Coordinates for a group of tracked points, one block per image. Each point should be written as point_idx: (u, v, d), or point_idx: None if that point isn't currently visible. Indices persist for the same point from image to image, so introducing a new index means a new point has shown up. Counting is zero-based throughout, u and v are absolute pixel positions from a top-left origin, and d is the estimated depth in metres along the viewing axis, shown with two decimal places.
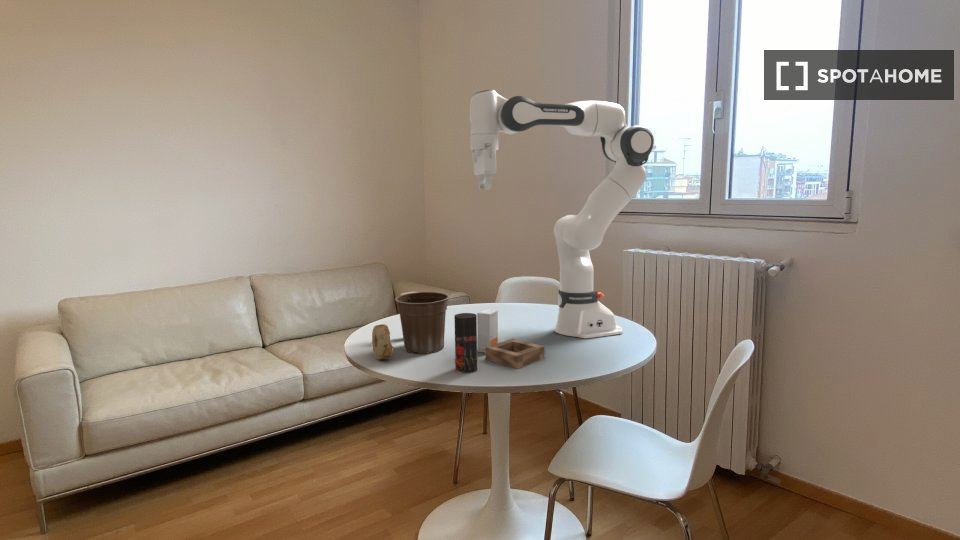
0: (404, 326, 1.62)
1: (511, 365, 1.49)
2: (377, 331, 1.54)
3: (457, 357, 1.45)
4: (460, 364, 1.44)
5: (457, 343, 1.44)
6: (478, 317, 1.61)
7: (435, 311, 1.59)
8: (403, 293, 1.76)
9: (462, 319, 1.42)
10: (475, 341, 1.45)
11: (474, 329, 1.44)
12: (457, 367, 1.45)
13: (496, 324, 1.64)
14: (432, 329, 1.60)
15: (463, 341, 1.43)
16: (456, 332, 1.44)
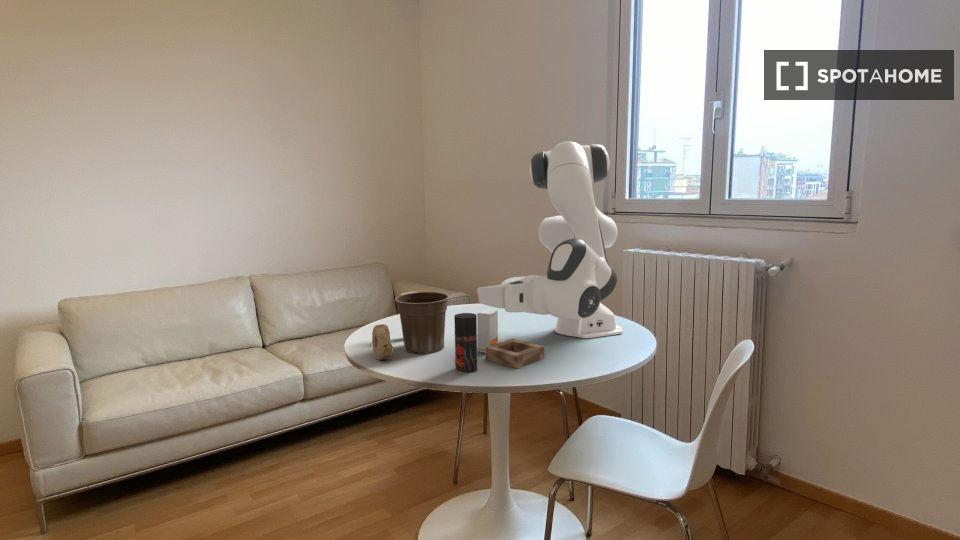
0: (404, 326, 1.62)
1: (511, 365, 1.49)
2: (377, 331, 1.54)
3: (457, 357, 1.45)
4: (460, 364, 1.44)
5: (457, 343, 1.44)
6: (478, 317, 1.61)
7: (435, 311, 1.59)
8: (403, 293, 1.76)
9: (462, 319, 1.42)
10: (475, 341, 1.45)
11: (474, 329, 1.44)
12: (457, 367, 1.45)
13: (496, 324, 1.64)
14: (432, 329, 1.60)
15: (463, 341, 1.43)
16: (456, 332, 1.44)
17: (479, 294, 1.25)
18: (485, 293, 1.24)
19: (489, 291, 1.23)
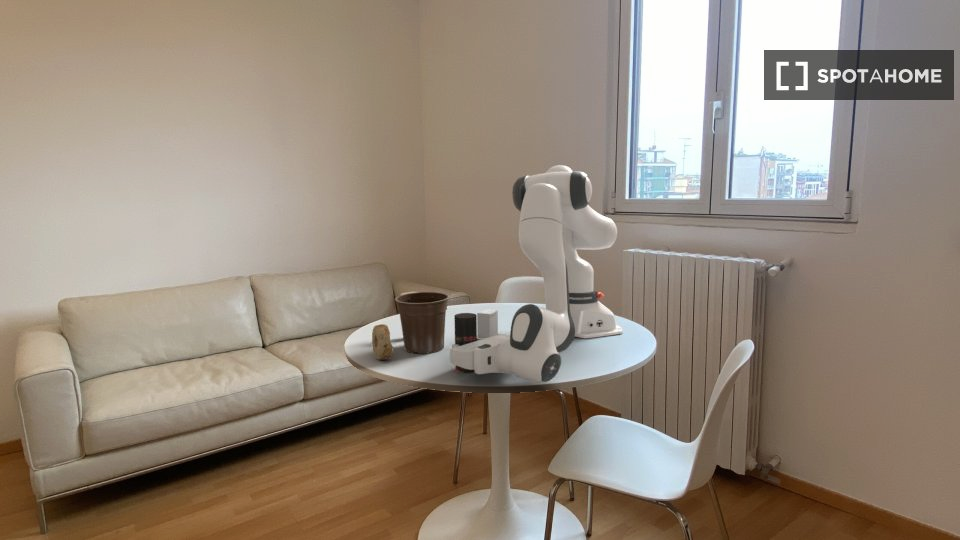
0: (404, 326, 1.62)
1: None
2: (377, 331, 1.54)
3: None
4: None
5: None
6: (478, 317, 1.61)
7: (435, 311, 1.59)
8: (403, 293, 1.76)
9: (462, 319, 1.42)
10: None
11: (474, 329, 1.44)
12: (457, 367, 1.45)
13: (496, 324, 1.64)
14: (432, 329, 1.60)
15: (463, 341, 1.43)
16: (456, 332, 1.44)
17: (450, 355, 1.36)
18: (456, 355, 1.34)
19: (460, 354, 1.33)
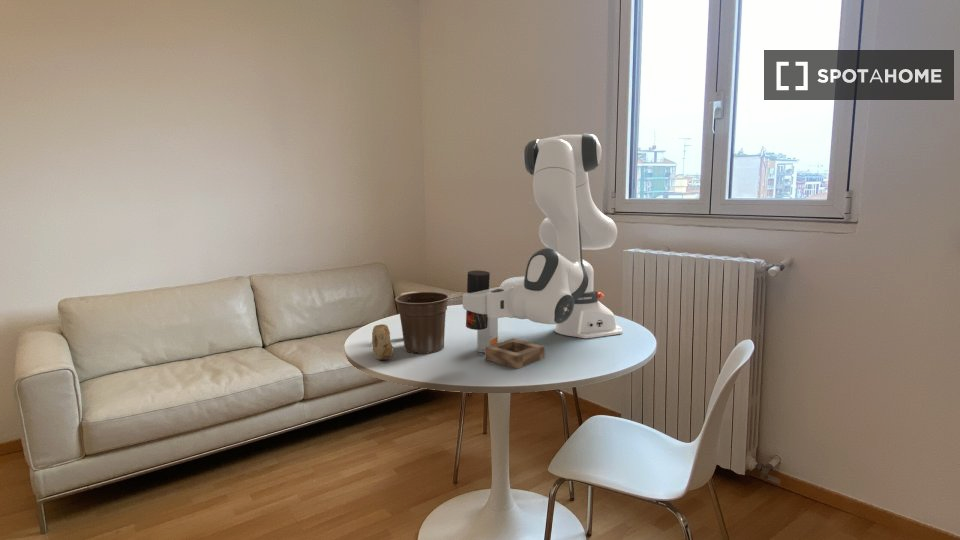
0: (404, 326, 1.62)
1: (511, 365, 1.49)
2: (377, 331, 1.54)
3: (468, 314, 1.46)
4: (471, 321, 1.45)
5: None
6: None
7: (435, 311, 1.59)
8: (403, 293, 1.76)
9: (476, 276, 1.42)
10: None
11: (487, 286, 1.44)
12: (468, 324, 1.46)
13: (496, 324, 1.64)
14: (432, 329, 1.60)
15: None
16: (469, 289, 1.44)
17: (463, 301, 1.36)
18: (469, 300, 1.35)
19: (473, 299, 1.34)
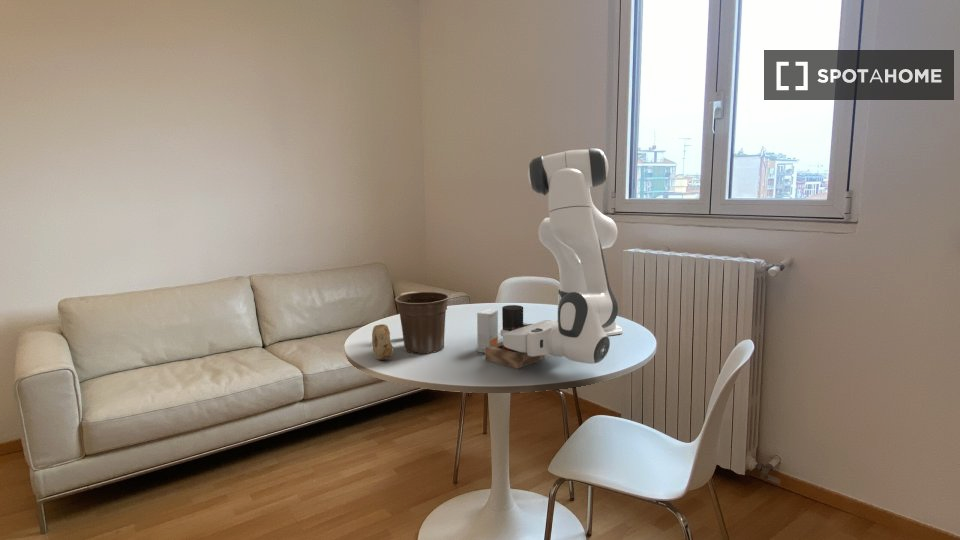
0: (404, 326, 1.62)
1: (511, 365, 1.49)
2: (377, 331, 1.54)
3: (505, 347, 1.53)
4: None
5: None
6: (478, 317, 1.61)
7: (435, 311, 1.59)
8: (403, 293, 1.76)
9: (510, 311, 1.51)
10: None
11: (522, 320, 1.53)
12: None
13: (496, 324, 1.64)
14: (432, 329, 1.60)
15: None
16: (504, 323, 1.53)
17: (504, 339, 1.44)
18: (509, 339, 1.42)
19: (513, 337, 1.42)
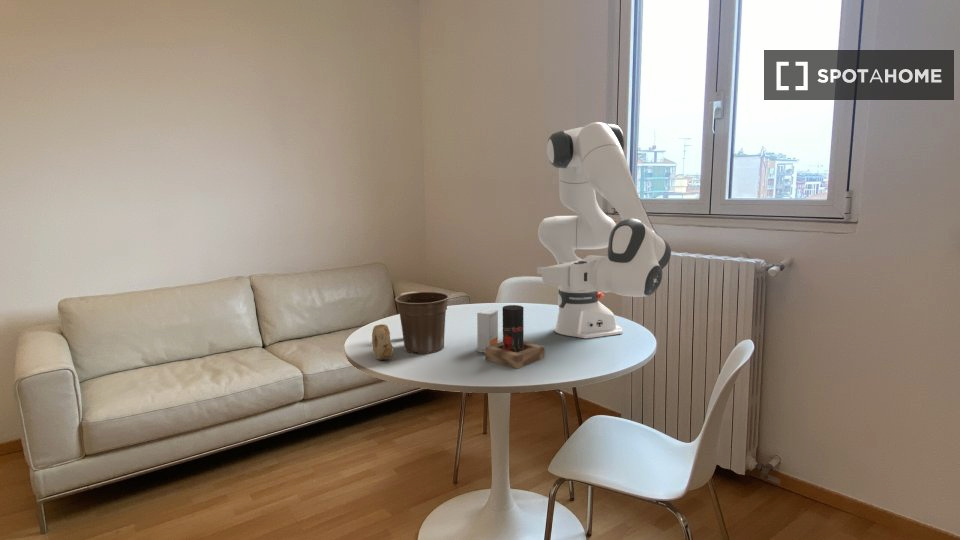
0: (404, 326, 1.62)
1: (511, 365, 1.49)
2: (377, 331, 1.54)
3: (505, 347, 1.53)
4: None
5: (505, 333, 1.53)
6: (478, 317, 1.61)
7: (435, 311, 1.59)
8: (403, 293, 1.76)
9: (511, 311, 1.51)
10: (522, 331, 1.53)
11: (522, 320, 1.53)
12: None
13: (496, 324, 1.64)
14: (432, 329, 1.60)
15: (511, 332, 1.52)
16: (504, 323, 1.53)
17: (543, 274, 1.32)
18: (550, 273, 1.31)
19: (554, 271, 1.30)
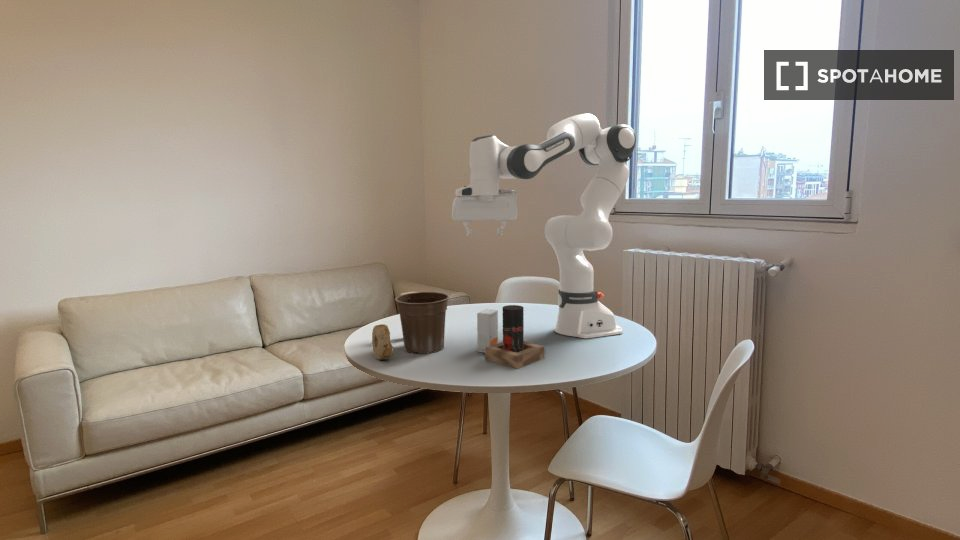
0: (404, 326, 1.62)
1: (511, 365, 1.49)
2: (377, 331, 1.54)
3: (505, 347, 1.53)
4: None
5: (505, 333, 1.53)
6: (478, 317, 1.61)
7: (435, 311, 1.59)
8: (403, 293, 1.76)
9: (511, 311, 1.51)
10: (522, 331, 1.53)
11: (522, 320, 1.53)
12: None
13: (496, 324, 1.64)
14: (432, 329, 1.60)
15: (511, 332, 1.52)
16: (504, 323, 1.53)
17: (452, 217, 1.65)
18: (452, 211, 1.65)
19: (452, 206, 1.65)
